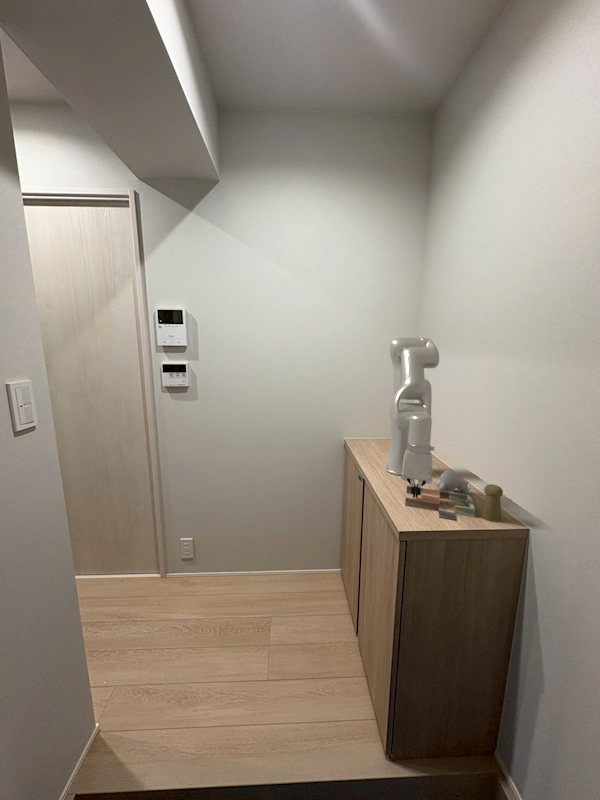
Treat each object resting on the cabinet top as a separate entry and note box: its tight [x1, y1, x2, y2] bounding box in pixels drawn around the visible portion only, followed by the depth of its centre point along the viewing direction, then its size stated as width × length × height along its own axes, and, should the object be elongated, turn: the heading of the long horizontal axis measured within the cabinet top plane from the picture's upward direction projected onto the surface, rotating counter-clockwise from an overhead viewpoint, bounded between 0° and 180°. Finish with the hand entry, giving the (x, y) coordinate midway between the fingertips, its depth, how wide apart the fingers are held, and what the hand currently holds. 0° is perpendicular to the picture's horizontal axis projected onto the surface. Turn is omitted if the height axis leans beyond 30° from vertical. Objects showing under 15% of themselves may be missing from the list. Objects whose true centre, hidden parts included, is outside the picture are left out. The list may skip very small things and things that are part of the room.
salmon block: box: [420, 487, 441, 504], centre depth 117 cm, size 6×6×4 cm
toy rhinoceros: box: [435, 470, 472, 494], centre depth 126 cm, size 7×12×8 cm, turn 81°
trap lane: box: [404, 485, 476, 522], centre depth 117 cm, size 22×22×2 cm
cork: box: [479, 483, 504, 523], centre depth 107 cm, size 6×6×11 cm
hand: (415, 496), depth 119 cm, fingers closed
